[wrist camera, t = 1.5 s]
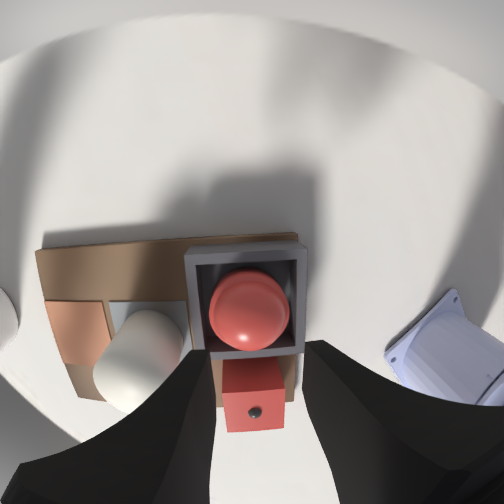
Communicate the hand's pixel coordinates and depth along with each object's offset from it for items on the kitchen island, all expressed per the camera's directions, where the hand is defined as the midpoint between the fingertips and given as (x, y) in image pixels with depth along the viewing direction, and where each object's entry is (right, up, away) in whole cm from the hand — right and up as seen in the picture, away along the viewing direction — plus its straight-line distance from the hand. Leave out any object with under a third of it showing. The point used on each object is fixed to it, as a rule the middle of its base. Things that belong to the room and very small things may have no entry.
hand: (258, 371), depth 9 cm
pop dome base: (-1, +2, +7) cm, 8 cm away
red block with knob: (0, -4, +9) cm, 10 cm away
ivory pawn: (-6, -1, +8) cm, 10 cm away
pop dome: (0, +1, +6) cm, 6 cm away
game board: (-6, -1, +8) cm, 10 cm away
